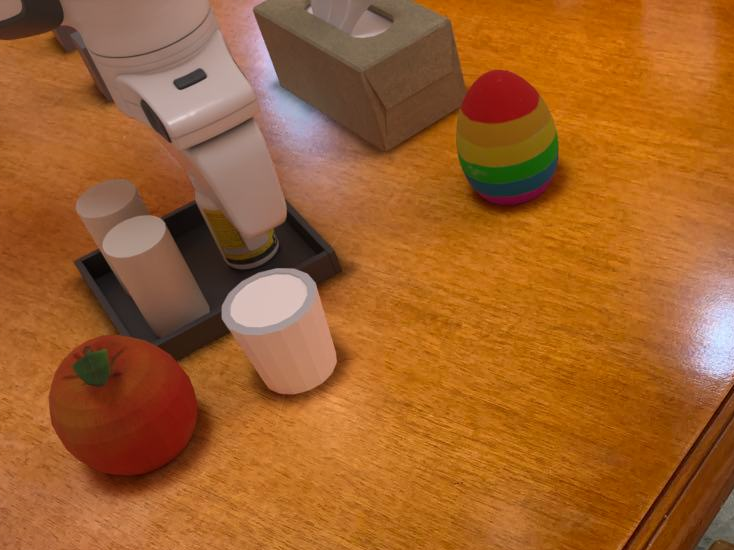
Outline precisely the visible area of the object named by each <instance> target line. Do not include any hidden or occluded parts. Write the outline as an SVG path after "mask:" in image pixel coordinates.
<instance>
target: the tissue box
mask: <svg viewBox="0 0 734 550" xmlns="http://www.w3.org/2000/svg"><path fill="white" fill-rule="evenodd" d="M252 12H253V15H254V18H255V21H256V23H257V26H258V29H259V31H260V35H261V37H262V40H263V43H264V45H265V47H266V50H267V53H268V55H269V59H270V61H271V64H272V66H273V69H274V72H275V74H276V77H277V79H278V83H279V85H280V87H281V88H283V89H284V90H286V91H288V92H289V93H291V94H293V95H294V96H296V97H297V98H299V99H300V100H301V101H303V102H305V103H307V104H308V105H309V106H311V107H312V108H314V109H315V110H318V111H319V112H321V113H322V114H324V115H325V116H327V117H329V119H331V120H333V121H335V122H337V123H338V124H340V125H341V126H343V127H344V128H346V129H348V130H349V131H350V132H352V133H353V134H355V135H356V136H358V137H360V138H362V139H363V140H365V141H366V142H367V143H369V144H371V145H372V146H374V147H375V148H377V149H379V150H380V151H382V152H384V153H385V152H389V151H390V150H392V149H393V148H395V147H396V146H398V145H400V144H402V143H403V142H405V141H406V140H408V139H410V138H411V137H413V136H414V135H416V134H418V133H420V132H421V131H423V130H425V129H426V128H428V127H429V126H431V125H433V124H434V123H436V122H438V121H439V120H441V119H443V118H444V117H446V116H447V115H449V114H451V113H453V112H454V111H456V110H457V109H460V107H461V104H462V102H463V99H464V97H465V95H466V93H467V92H468V91H467V88H466V83H465V78H464V74H463V69H462V65H461V61H460V56H459V51H458V47H457V41H456V38H455V34H454V28H453V24H452V19H450V18H448V17H446V16H444V15H441V14H440V13H438V12H436V11H434V10H432V9H429V8H428V7H426V6H423V5H421V4H419V3H417V2H415V1H413V0H264V1H261V2H260V3H259V4H256V5H255V6H253V8H252Z"/></svg>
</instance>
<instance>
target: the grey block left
mask: <svg viewBox="0 0 734 550" xmlns="http://www.w3.org/2000/svg"><path fill="white" fill-rule="evenodd" d="M51 32H52V33H53V35H54V37H55V39H56V41H57V42H58V43H59V44H60V46H61V47H62V48H63V49H64V50H65V51H66V52H67V53H71V52H72V51H74V50H77V48H76V46H75V44H74V42H73V40H72V39H71V37H70V34H72V33H75V32H77V30H76V29H75V28H73V27H71V26H67V25H62V26H59V27H58V28H56V29H54V30H52V31H51Z"/></svg>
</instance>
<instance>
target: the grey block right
mask: <svg viewBox="0 0 734 550" xmlns="http://www.w3.org/2000/svg"><path fill="white" fill-rule="evenodd" d="M70 37H71V39H72V40H73V42H74V44H75V46H76V48H77V49H76V50H77V52H78V54H79V55H80V58H81V59H82V61H83V63H84V65H85V68H86V69H87V71H88V73H89V74H90V77H91V78H92V80H93V82H94V84H95V86H96V88H97V89H98V91H99V92H100V93H101V94H102V96H104V97H105V99H106V100H107V101H108V102H109V103H111V102H114V100H113V98H112V96H111V94H110V92H109V90H108V88H107V87H106V85H105V83H104V81H103V79H102V77H101V75H100V73H99V71H98V69H97V67H96V65H95V63H94V61H93V59H92V58H91V56H90V54H89V52H88V50H87V48H86V46H85V44H84V41H83V39H82V37H81V35H80V33H79V32H78V31H77V32H75V33H72V34H70Z"/></svg>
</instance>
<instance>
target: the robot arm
mask: <svg viewBox="0 0 734 550" xmlns="http://www.w3.org/2000/svg"><path fill="white" fill-rule="evenodd" d="M62 25H67V26H71V27H73V28H75V29H76V30H77V31H78V32H79V33H80V35H81V37H82V39H83V41H84V44H85V46H86V48H87V50H88V52H89V54H90V56H91V58H92V59H93V61H94V63H95V65H96V67H97V69H98V71H99V73H100V75H101V77H102V79H103V81H104V83H105V85H106V87H107V88H108V90H109V92H110V94H111V96H112V98H113V103H114V104H115V106H116V108H117V110H119V112H120V113H122V114H123V115H124V116H126V117H128V118H130V119H134V120H138V121H139V123H141V124H143V125H145V126H146V127H148V128H149V130H150V131H151V132H152V134H153V135H154V137H156V139H157V140H158V141H159V142H160V143H161V145H163V147H164V148H165V149H166V150H167V151H168V153H170V155H171V156H172V157H173V158H174V159H175V160H176V162H177V163H178V164H179V165H180V166H181V167H182V169H183V170H184V171H185V172H186V173H187V171H188V172H189V173H190V174H191V175H192V176H193V178H194V179H195V181H196V183H197V184H198V185H199V187H200V188H201V189H202V190H203V191H204V193H205V194H206V195H207V196H208V197H209V198H210V199H211V201H212V202H213V203H214V204H215V205H216V206H217V208H218V209H219V210H220V211H221V212H222V213H223V214H224V216H225V217H226V218H227V219H228V220H229V221H230V222H231V224H232V225H233V226H234V227H235V229H236V231H237V233H238V235H239V237H240V240H241V241H242V242H243V244H244V245H245V246H246V247H247V248H248V249H249V250H250V251H255V250H257V249H259V248H261V247H263V246H264V245H266V244H267V242H268V237H267V235H266V232H268V231H270V230H272V229H273V228H275V227H277V226H279V225H281V224H282V223H283V222H284V221H285V220H286V215H287V207H286V202H285V199H286V198H285V196H284V193H283V189H282V186H281V183H280V179H279V177H278V174H277V171H276V167H275V165H274V162H273V159H272V155H271V153H270V150H269V147H268V145H267V142H266V140H265V137H264V134H263V132H262V130H261V128H260V126H259V123H258V122H257V120H256V119H255V117H254V116H256V115H258V114H260V113H261V105H260V102H259V99H258V97H257V95H256V92H255V90H254V88H253V86H252V85H251V83H250V81H249V80H248V78H247V77H246V75H245V74H244V72H243V71H242V70H241V68H240V66H239V65H238V62H236V60H235V59H234V57H233V53H232V51H231V48H230V46H229V44H228V42H227V39H226V37H225V35H224V33H223V32H222V29H221V27H220V24H219V22H218V20H217V17H216V14H215V12H214V9H213V7H212V4H211V2H210V0H0V41H15V40H20V39H27V38H32V37H35V36H36V37H37V36H40V35H43V34H46V33H50V32H52V30H54V29H56V28H58V27H59V26H62Z"/></svg>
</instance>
